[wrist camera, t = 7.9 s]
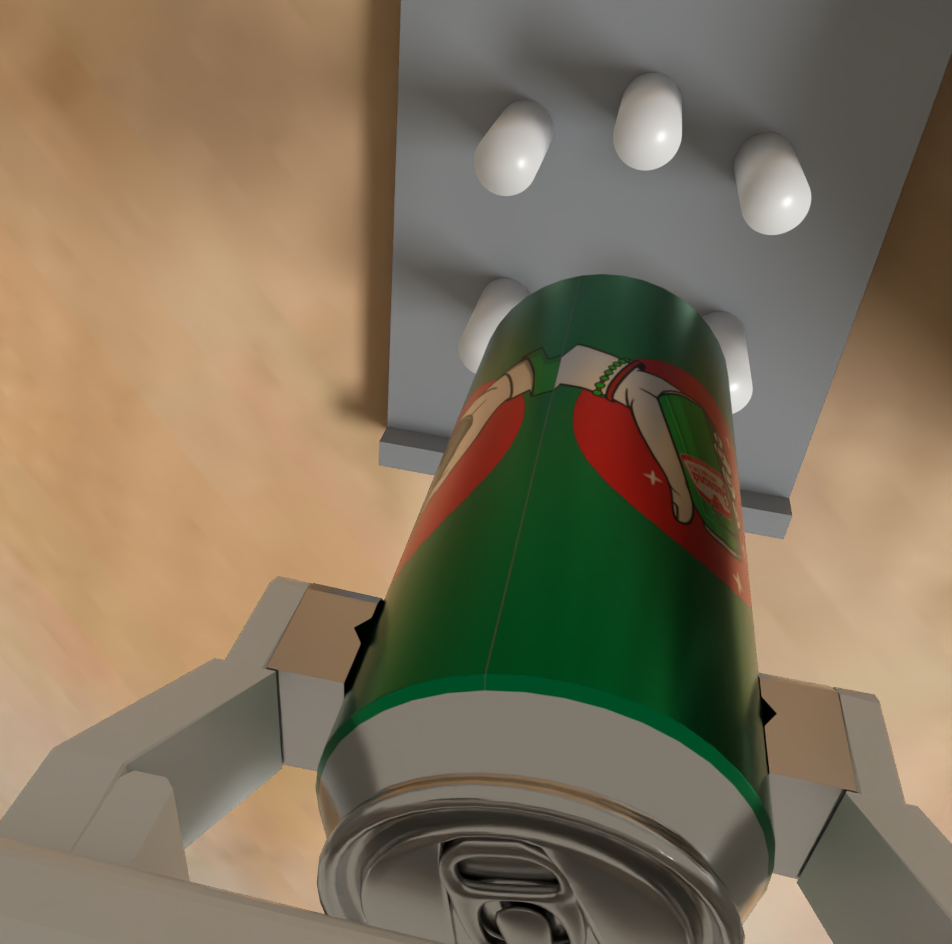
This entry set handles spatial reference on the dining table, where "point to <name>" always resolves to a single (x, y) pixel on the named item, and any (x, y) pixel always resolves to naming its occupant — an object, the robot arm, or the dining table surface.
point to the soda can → (564, 654)
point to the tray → (653, 188)
